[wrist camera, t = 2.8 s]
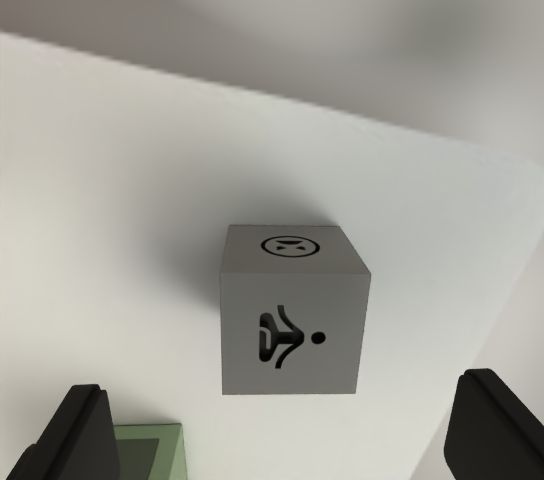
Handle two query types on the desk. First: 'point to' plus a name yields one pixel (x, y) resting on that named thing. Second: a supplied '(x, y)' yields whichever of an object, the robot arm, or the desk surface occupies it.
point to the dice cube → (291, 310)
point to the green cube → (151, 452)
